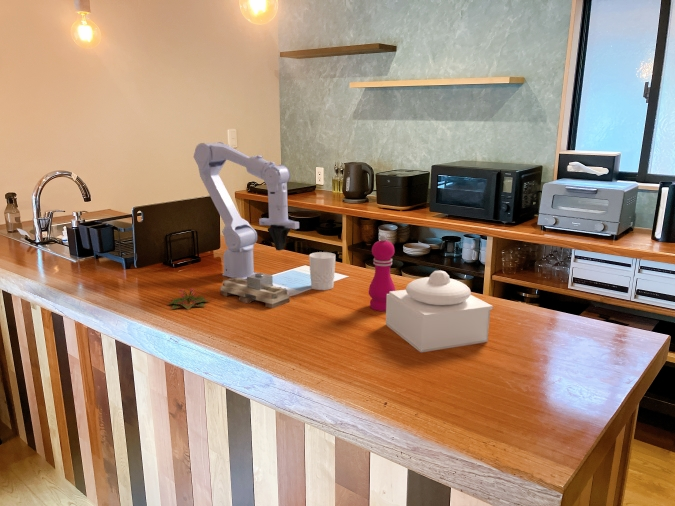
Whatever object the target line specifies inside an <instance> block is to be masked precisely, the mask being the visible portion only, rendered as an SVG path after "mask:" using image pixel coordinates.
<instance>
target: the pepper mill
mask: <svg viewBox="0 0 675 506" xmlns="http://www.w3.org/2000/svg"><path fill="white" fill-rule="evenodd" d="M379 239H380V240H378V241H376V242H375V243H373V245H372V247H371V254H372V256H373V257H374V258H373V265H374V268H375V270H374V275H373V278H372V280H371V282H370V284H369V288H368V296H369V297H370V298H371V299H370V300H369V307H370V309H372V310H374V311H380V312H386V299H387V294H389V292H390V291H396V286H395V284H394V282H393V279H392V276H391V266H392V265H393V256H394V255H395V246H394V244H393V243H392V242H390V241H389V240H387V239H388V238H387V235H386V234H382V235H380V238H379Z"/></svg>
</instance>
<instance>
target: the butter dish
mask: <svg viewBox="0 0 675 506" xmlns="http://www.w3.org/2000/svg"><path fill="white" fill-rule="evenodd" d="M493 308H494V306H493V305H492V304H489V303H488V302H486V301H484V300H482V299H480V298H478V297H477V296H475V295H472V291H471V289H470V287H468V286H467V284H465V283H464V282H461V281H459V280H456V279H453V278H450V275H449V274H448V273H447V272H446V271H444V270H441V269H440V270H434V271H433V272H432V273H431V274H430V275H429V276H426V277H421V278H417V279H414V280H412V281H410V282H409V283H408V284H406V287H405V289H400V290H399V289H397V290H395V291H390V292H389V294H387V299H386V311H385V325H386V326H387V327H388V328H389V329H390V330H392V331H393V332H394V333H396V334H397V335H398V336H399V337H400V338H402V339H403V340H404V341H406V342H407V343H409V345H411V346H412V347H413V348H414V349H416V350H417V351H418V352H419V353H426V352H432V351H438V350H444V349H445V350H446V349H450V348H458V347H465V346H470V345H471V346H472V345H476V344H483V343H488V340H489V327H490V315H491V314H490V313H491V310H493Z"/></svg>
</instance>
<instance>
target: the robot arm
mask: <svg viewBox="0 0 675 506" xmlns="http://www.w3.org/2000/svg"><path fill="white" fill-rule="evenodd" d="M193 158H194V161H195V162H196V164H197V167H198V172H199V177H200V179H201V181H202V183H203V185H204V187H205V188H206V191H207V192H208V195H209V197H210V198H211V200H212V203H213V204H214V206H215V208H216V210H217V212H218V214H219V216H220V218H221V220H222V221H223V223H224V226H223V229H222V235H223V237H224V243H225V245H226V247H227V249H225V250H224V253H223V257H222V258H223V259H222V260H223V273H222V274H221V275H222V276H223V277H228V278H230V279H232V278H235V277H237V278H241V279H246V280H247V276H250V275H253V274H256V273H257V272H254V271H255V270H254V248H255V245H256V243H257V241H258V232H257V231H256V230H255V228H254V227H252V226H251V224H250V223H249V220H246V219H244V218H243V217H241V215H240V213H239V212H238V209H237V208H236V206H235V203H234V202H233V200H232V198H231V196H230V193H229V192H228V190H227V188H226V187H225V184H224V182H223V180H222V179H221V177H220V171H222V168H223V167H224V165H225V164H226V161H228V162H232V163H233V164H234V163H235V164H237V165H239V166H241V167H244V168H245V169H246V171H247V173H248V174H250V175H252V176H254V177H257V178H258V179H261V180H263V181H264V183H265V184H266V190H267V198H268V199H267V200H268V203H267V204H268V218H267V217H263V218H258V219H259V220H258V221H259V222H258V223H259V224H258V225H259V226H269V227H268V228H267V231H268V233H269V235H270V237H271V238H272V240H273V244H274V248H275V250H276V251H280V252H281V251H283V250H284V249H285V244H286V240H287V237H288V235H289V232H290V230H291V229H293V230H297V229H300V222H299V221H295V220H291V219H289V213H288V212H289V211H288V209H289V208H288V206H289V205H288V182H290V179H291V173H290V170H289V168H288V167H286V165H284V164H278V165H276V162H275V161H269V160H266V159H264V158H263V156H262V155H260V154H257V155H252V156H249V155H247V154H245V153H243V152H241V151H239V150H237V149H236V148H234V147H232V146H230V144H227V143H224V142H221V141H220V142H211V143H210V142H207V143H205V142H201V143H199V144H197V145H196V146H195V149H194V153H193Z"/></svg>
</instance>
